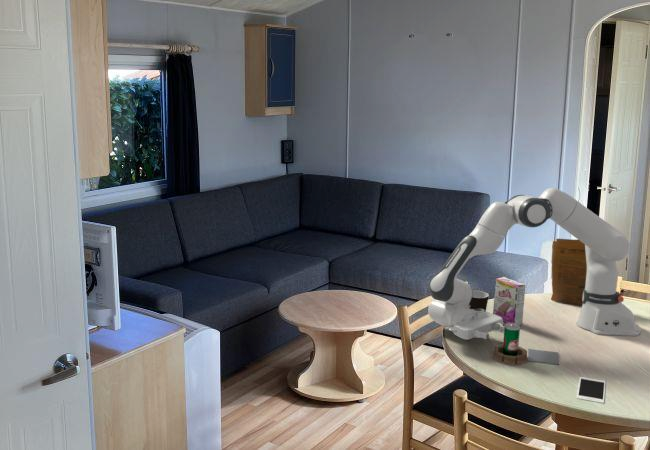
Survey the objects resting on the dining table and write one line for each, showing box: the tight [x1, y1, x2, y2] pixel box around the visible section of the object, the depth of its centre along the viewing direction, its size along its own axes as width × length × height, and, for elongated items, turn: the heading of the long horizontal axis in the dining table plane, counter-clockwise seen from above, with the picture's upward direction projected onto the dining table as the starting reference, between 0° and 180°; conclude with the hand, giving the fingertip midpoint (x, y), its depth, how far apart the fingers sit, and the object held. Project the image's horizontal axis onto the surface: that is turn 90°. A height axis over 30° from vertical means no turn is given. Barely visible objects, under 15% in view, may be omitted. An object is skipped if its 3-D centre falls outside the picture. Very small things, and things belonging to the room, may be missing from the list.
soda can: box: [502, 323, 521, 356], centre depth 244 cm, size 5×5×12 cm
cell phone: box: [575, 376, 607, 404], centre depth 223 cm, size 8×16×1 cm, turn 158°
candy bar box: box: [492, 276, 526, 326], centre depth 277 cm, size 11×5×16 cm, turn 34°
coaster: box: [527, 348, 560, 366], centre depth 246 cm, size 10×10×1 cm
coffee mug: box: [467, 290, 490, 312], centre depth 281 cm, size 12×9×10 cm
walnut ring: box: [492, 344, 528, 366], centre depth 245 cm, size 11×11×2 cm
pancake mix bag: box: [550, 238, 587, 307], centre depth 297 cm, size 7×19×28 cm, turn 68°
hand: (496, 333), depth 249 cm, fingers open, 8 cm apart
